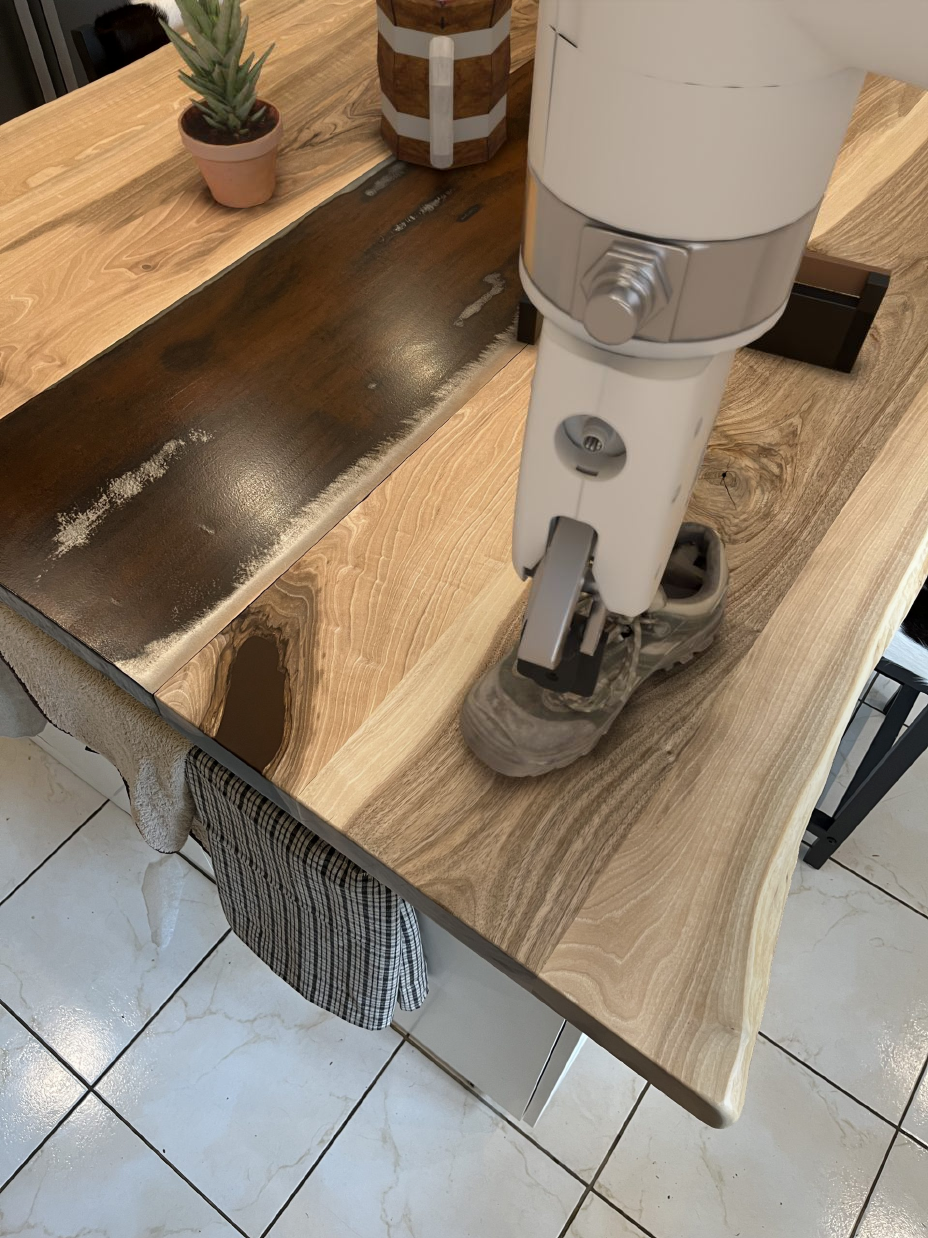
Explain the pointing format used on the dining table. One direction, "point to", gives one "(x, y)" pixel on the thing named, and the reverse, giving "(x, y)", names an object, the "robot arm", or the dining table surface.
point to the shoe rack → (801, 313)
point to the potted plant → (226, 105)
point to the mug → (444, 79)
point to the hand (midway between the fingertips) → (582, 615)
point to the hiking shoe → (637, 646)
